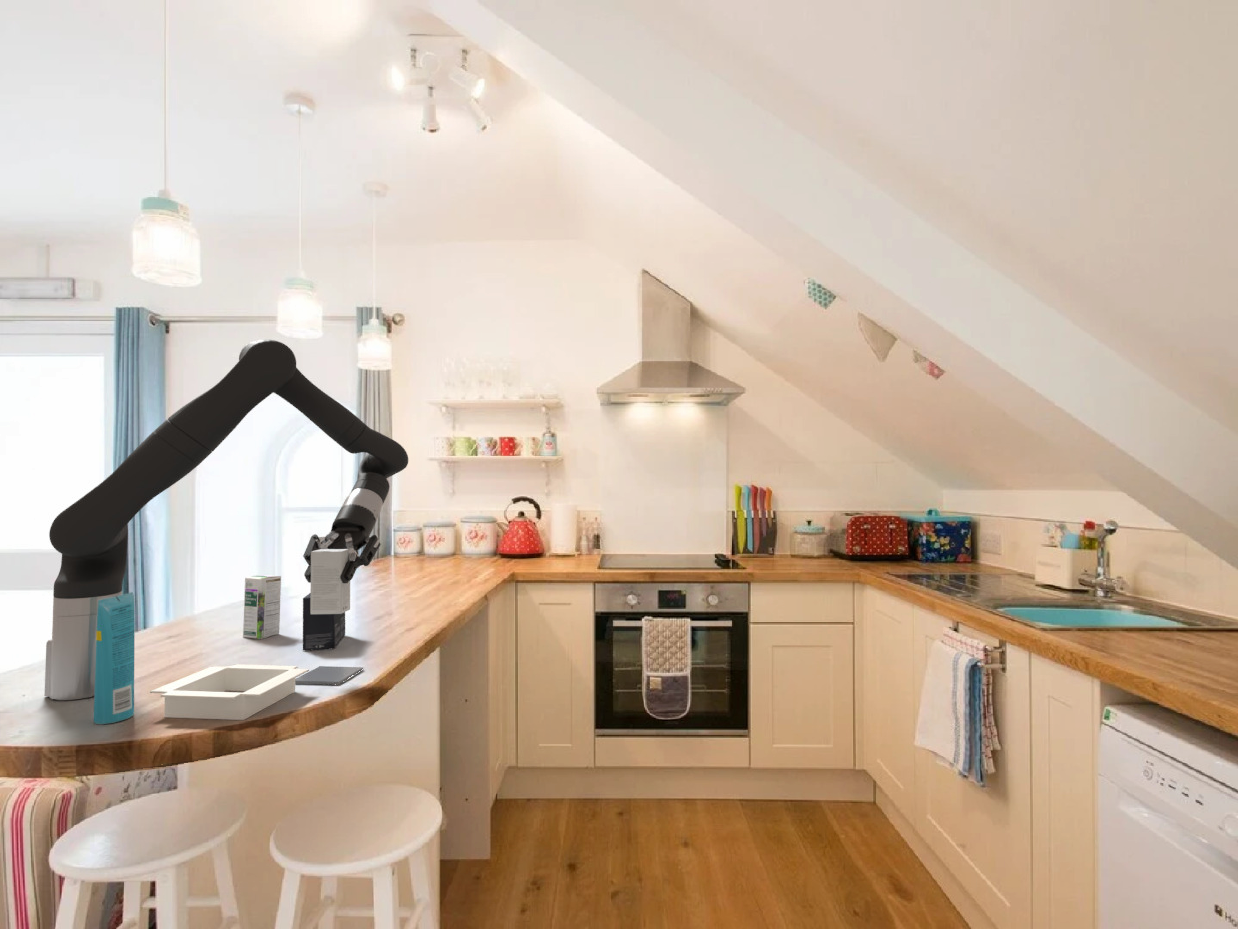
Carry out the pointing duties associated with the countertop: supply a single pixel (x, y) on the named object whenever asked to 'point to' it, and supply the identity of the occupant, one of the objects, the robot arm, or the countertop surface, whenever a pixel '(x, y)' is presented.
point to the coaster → (327, 675)
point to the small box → (321, 628)
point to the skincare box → (329, 582)
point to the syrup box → (261, 606)
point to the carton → (209, 700)
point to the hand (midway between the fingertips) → (326, 580)
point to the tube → (114, 660)
